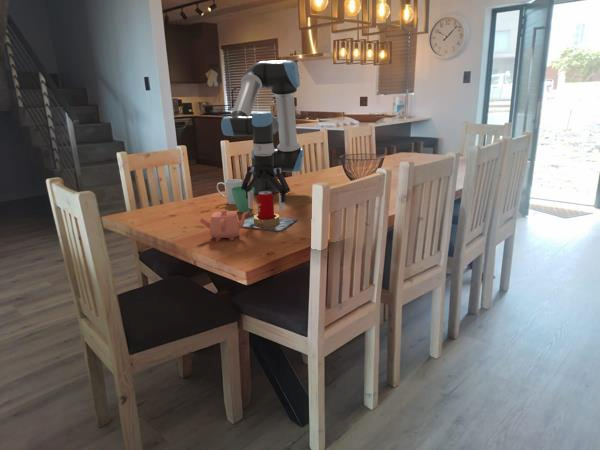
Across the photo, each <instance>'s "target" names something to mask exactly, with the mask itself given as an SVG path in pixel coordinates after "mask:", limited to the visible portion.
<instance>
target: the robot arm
mask: <svg viewBox="0 0 600 450" xmlns="http://www.w3.org/2000/svg"><path fill="white" fill-rule="evenodd" d="M300 80H301V77H300V71H299V67H298V65H297V62H295V61H294V60H287V59H283V60H282V59H281V60H260V61H258V62H255V63H254V64H252V65H251V66H249V67H248V68H247V70H245V72H244V73H243V75H242V76H241V79H240V85H241V86H240V89H239V91H238V92H239V93H238V95H237V97H236V99H235V100H236V101H235V103H234V106H233V108H232V112H231V114H230V116H223V117H222V119H221V123H220V126H221V127H220V129H221V132H222V134H223V135H224V136H226V137H227V136H229V137H230V136H231V137H245V136H246V137H252V140H253V142H252V145H253V148H252V150H251V157H250V158H251V165H250V166H247V169H246V174H245V176H244V179H243V180H242V182H243V184H242V187H241V189H242V190H245V191H246V199H248V208H254V197H253V191H250V190H251V189H252V187H254V189H255V190H254V195H258V194H259V192H261V191H271V192H272V194H273V195H274V194H277V193H278V192H279V194H278V210H279V212H282V211H284V210H285V203H286V201H287V200H286V198H287V195H286V194H288V193H290V192H291V188H290V187H289V184H288V182H287V179H286V178H285V175H284V174H283V173H285V172H287V173H294V172H297V173H298V172H301V171H302V169H303V164H304V156H305V150H304V148H302V147H301V144H300V143H299V142H298V138H297V135H298V134H297V124H296V108H295V94H296V93H297V92H298V88H300V85H301V81H300ZM262 89H271V93H272V95H274V97H275V105H276V106H275V107H276V115H277V118H276V116H273V113H272V112H269V111H265V112H264V111H259V112H258V111H257V112H253V109H254V105H255V102H256V99H257V96H258V93H260V91H262ZM252 112H253V113H252ZM277 132H278V138H279V139H278V140H279V144H277V146H276V148H275V145H274V135H275V134H276V133H277ZM276 176H277V177H276ZM277 178H278V179H277ZM250 180H251V181H250Z"/></svg>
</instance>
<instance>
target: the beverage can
mask: <svg viewBox="0 0 600 450" xmlns="http://www.w3.org/2000/svg"><path fill="white" fill-rule="evenodd" d="M274 203H275V202H274V193H273V194H272V192H271V191H261V192H259V194H257V214H258V218H259V219H271V218H274V213H275V207H274V206H275V204H274Z"/></svg>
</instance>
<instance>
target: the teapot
mask: <svg viewBox="0 0 600 450" xmlns="http://www.w3.org/2000/svg"><path fill="white" fill-rule="evenodd" d="M250 211H251V210H250ZM250 211H248V212H242V214H241V218H240V219H239V215H238V212H237V211H233V210H232V211H229V210H227V209H221V210H220V211H214V212H213V213H212V215H211V216H210V222H209V220H207V219H205V218H204V217H201V218H200V219H199V222H200V223H201V224H203V225H204V226H205V227H206V228H208V229H209V234H210V237H211V238H215V239H214V240H215V241H217V242H218V241H222V239H223V238H227V239H228V240H229V241H235V239H236V238H235V237H238V236H239V233H240V229H241V228H242V226H243V225H244V221H245V219H246V216H247V214H249V213H250Z"/></svg>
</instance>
